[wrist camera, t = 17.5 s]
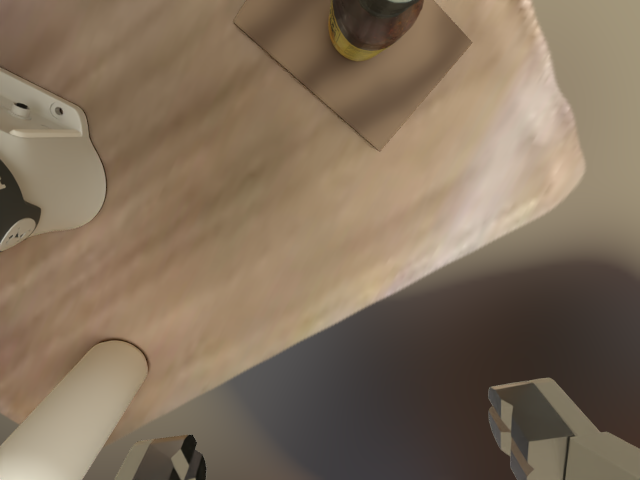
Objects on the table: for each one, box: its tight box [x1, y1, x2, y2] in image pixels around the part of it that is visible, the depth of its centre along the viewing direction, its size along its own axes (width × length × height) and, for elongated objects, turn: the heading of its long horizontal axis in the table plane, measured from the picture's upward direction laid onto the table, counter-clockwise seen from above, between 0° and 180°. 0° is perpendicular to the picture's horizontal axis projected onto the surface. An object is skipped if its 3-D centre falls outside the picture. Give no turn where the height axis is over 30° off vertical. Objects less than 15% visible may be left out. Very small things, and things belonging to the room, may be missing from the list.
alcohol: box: [0, 340, 148, 480], centre depth 36 cm, size 9×9×30 cm
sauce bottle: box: [328, 0, 424, 61], centre depth 25 cm, size 6×6×20 cm
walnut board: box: [233, 0, 472, 151], centre depth 35 cm, size 20×14×2 cm
